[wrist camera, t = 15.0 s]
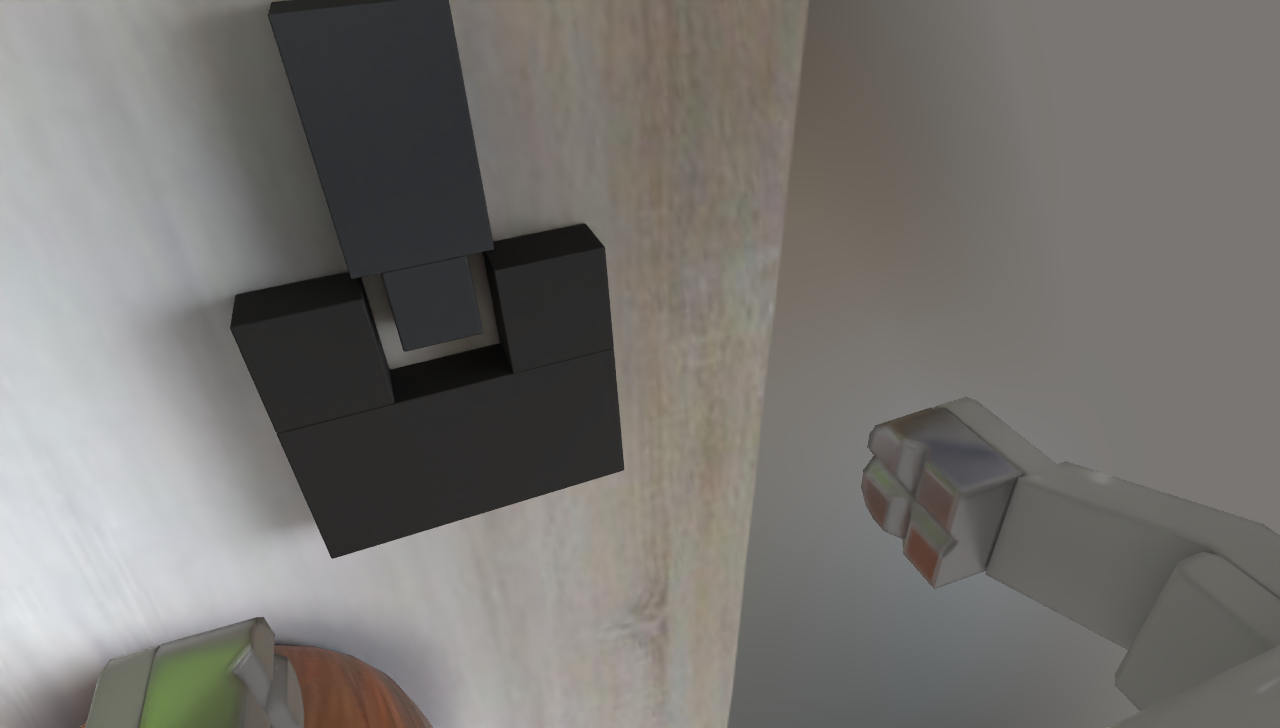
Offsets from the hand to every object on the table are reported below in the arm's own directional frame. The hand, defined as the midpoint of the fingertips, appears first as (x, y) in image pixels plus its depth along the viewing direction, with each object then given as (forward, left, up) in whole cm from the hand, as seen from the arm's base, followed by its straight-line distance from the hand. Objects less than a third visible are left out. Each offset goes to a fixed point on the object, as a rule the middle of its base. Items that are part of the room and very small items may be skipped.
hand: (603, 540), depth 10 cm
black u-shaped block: (+1, +14, -26) cm, 30 cm away
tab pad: (+1, +3, -26) cm, 26 cm away
